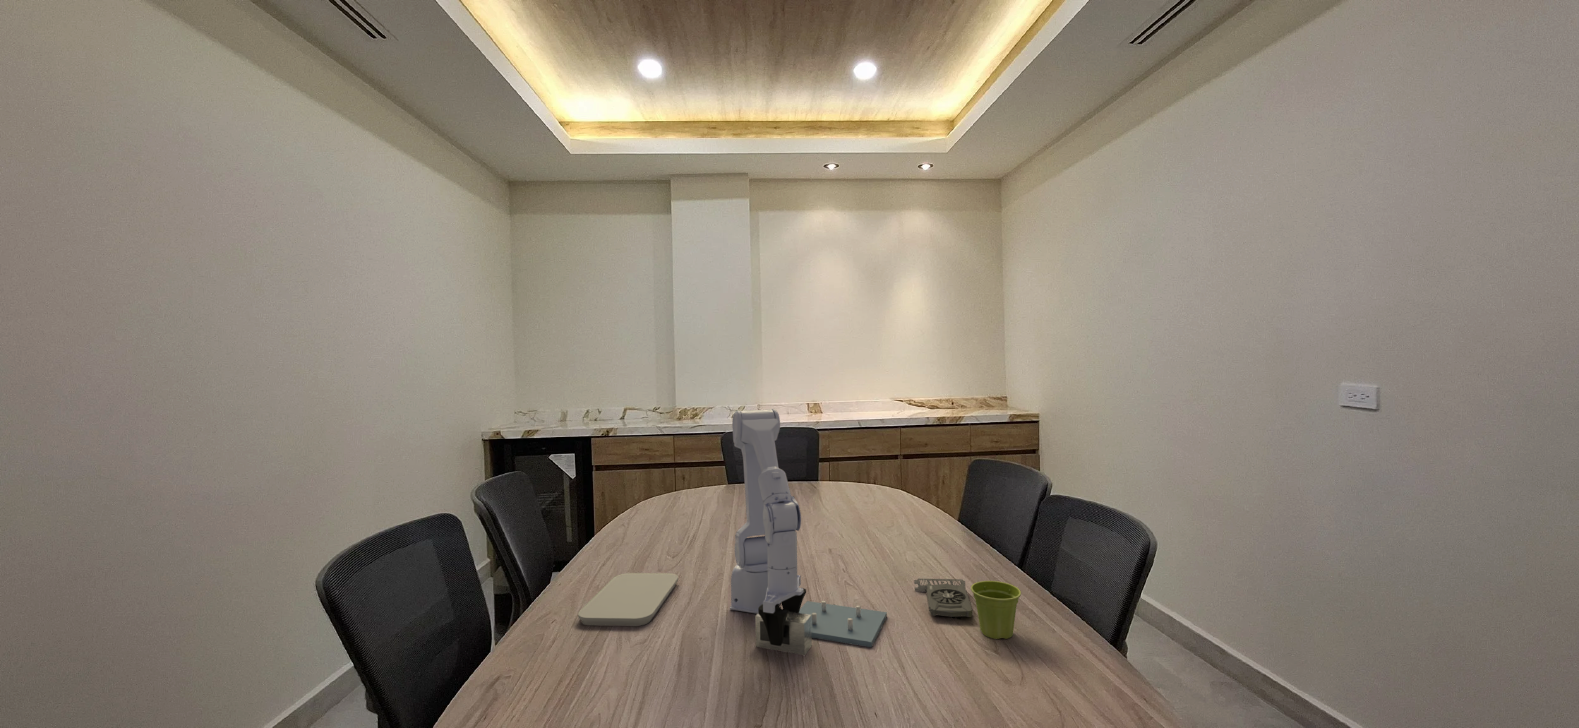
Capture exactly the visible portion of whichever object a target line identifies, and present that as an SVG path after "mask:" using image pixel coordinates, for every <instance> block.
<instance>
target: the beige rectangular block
mask: <svg viewBox="0 0 1579 728" xmlns="http://www.w3.org/2000/svg"><path fill="white" fill-rule="evenodd" d="M754 617H755V618H754V619H755V647H757V648H761V647H762V648H763V649H767V650H773V651H777V650H779V651H780V652H784V653H788V654H789V653H790V654H795V655H799V656H800V655H802V656H806V654H807V653H808V652H809V650H810V649H811V647H812V646H813V643H812V642H813V639H812V628H811V615H809V614H802V613H795V612H789V613H788V615H787V618H786V621H785V625H784V634H783V642H782V645H781V646H776V645H771V644H770V641H769V637H768V633H767V630H766V626H765V624H764V622H763V620H762V618H761V616H760V615H759V613H758V614H757V613H756V615H755V616H754ZM762 648H761V649H762ZM779 651H778V652H779Z"/></svg>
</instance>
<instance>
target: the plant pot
mask: <svg viewBox="0 0 1579 728" xmlns="http://www.w3.org/2000/svg"><path fill="white" fill-rule="evenodd" d="M970 591H971V592H972V593H973V594H972V595H973V598H974V600H975V604H976V612H977V618H978V623H979V628H980V629H979V631H981V633H982V634H983V635H984V636H985V637H988V638H991V639H994V640H999V639H1005V640H1007V639H1010V638H1012V637H1013V635H1014V629H1015V620H1016V612H1017V606H1018V605H1017V604H1018V603H1019V598H1020V597H1022V591H1021V590H1020V589H1019V587H1017V586H1015V585H1013V584H1011V583H1007V582H1004V581H997V580H983V581H982V580H981V581H977V582H975V583H973V584H972V585H971V586H970Z"/></svg>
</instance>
